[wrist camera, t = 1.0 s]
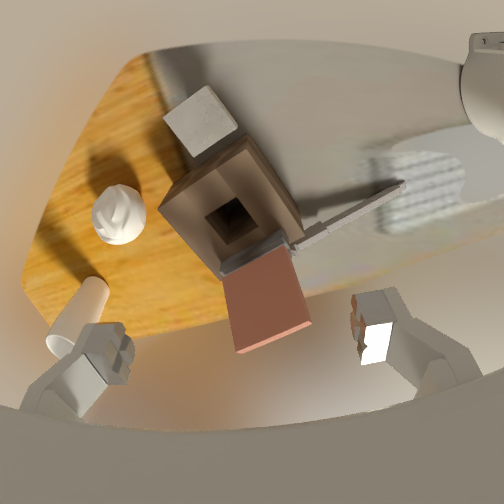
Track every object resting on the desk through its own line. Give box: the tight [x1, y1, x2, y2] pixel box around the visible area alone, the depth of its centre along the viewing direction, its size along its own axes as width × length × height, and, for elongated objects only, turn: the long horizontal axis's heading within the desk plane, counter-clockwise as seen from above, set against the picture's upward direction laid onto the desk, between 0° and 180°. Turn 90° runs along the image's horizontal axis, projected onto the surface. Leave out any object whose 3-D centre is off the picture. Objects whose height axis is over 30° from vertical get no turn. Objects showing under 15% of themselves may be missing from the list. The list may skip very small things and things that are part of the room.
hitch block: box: [157, 133, 305, 281], centre depth 38 cm, size 12×12×10 cm
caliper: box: [288, 181, 406, 259], centre depth 41 cm, size 20×1×6 cm, turn 117°
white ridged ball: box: [92, 184, 146, 245], centre depth 39 cm, size 8×8×8 cm
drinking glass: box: [46, 276, 110, 359], centre depth 45 cm, size 7×7×15 cm
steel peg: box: [163, 85, 238, 157], centre depth 32 cm, size 5×5×9 cm
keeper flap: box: [222, 245, 312, 354], centre depth 32 cm, size 9×8×1 cm
